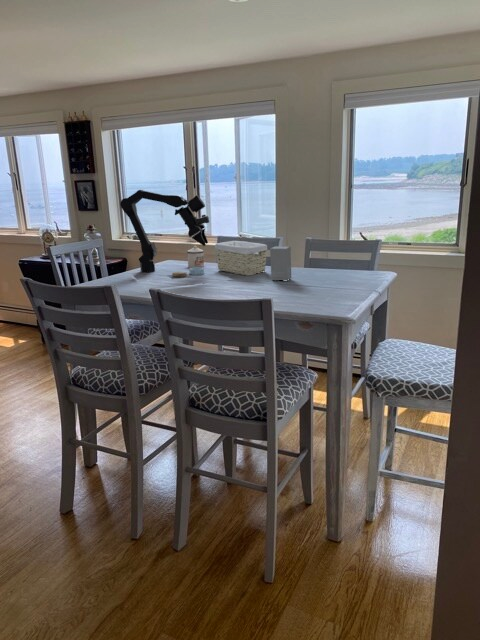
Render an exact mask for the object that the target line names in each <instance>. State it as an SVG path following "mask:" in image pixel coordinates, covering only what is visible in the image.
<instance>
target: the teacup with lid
mask: <svg viewBox="0 0 480 640" xmlns="http://www.w3.org/2000/svg"><path fill="white" fill-rule="evenodd" d="M186 251H187V252H186V253H187V267H188V268H189V269H190V268H195V267H200V268H204V266H205V264H204V263H205V262H204V261H205V260H206V253H204V250H203V249H201V248H199V247H198V246H197V245H194V246H193V247H192V248H190V249H188V250H186Z"/></svg>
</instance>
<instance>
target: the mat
mask: <svg viewBox="0 0 480 640" xmlns="http://www.w3.org/2000/svg"><path fill="white" fill-rule="evenodd" d="M166 276H167V277H169V278H170V279H172V280H178V279H186V278H187V279H189V278H193V276H192V275H191V274H189V273H187V276H186V277H180V278H176V277H172V274H167V275H166Z"/></svg>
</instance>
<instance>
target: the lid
mask: <svg viewBox="0 0 480 640" xmlns="http://www.w3.org/2000/svg"><path fill="white" fill-rule="evenodd" d="M187 274H188V273H187V272H186V271H174V272H172V273H171V275H172V277H176V278H179V279H181V278H180V277H186V276H187Z"/></svg>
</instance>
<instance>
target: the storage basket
mask: <svg viewBox="0 0 480 640" xmlns="http://www.w3.org/2000/svg"><path fill="white" fill-rule="evenodd" d="M214 248H215V254H216V259H217V267H218V268H217V269H218V271H221V272H226V273H232V274H235V275H241V276H242V275H243V276H252V275H257V274H256V273H258V274H261V273H260V272H263V271H265V272H266V264H267V250H268V245H267V244H264V243H258V242H250V241H249V242H248V241H243V240H241V241H240V240H230V241H223V242H218V243H215V246H214ZM263 273H264V272H263Z"/></svg>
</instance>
